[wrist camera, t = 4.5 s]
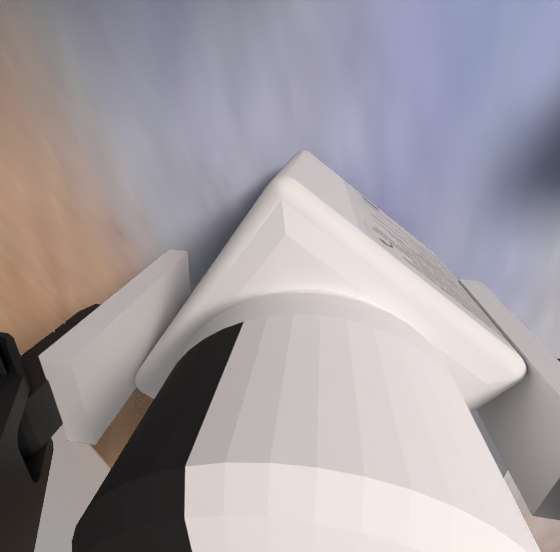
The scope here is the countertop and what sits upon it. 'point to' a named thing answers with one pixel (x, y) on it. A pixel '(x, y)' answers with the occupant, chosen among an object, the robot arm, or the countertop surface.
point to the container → (316, 396)
